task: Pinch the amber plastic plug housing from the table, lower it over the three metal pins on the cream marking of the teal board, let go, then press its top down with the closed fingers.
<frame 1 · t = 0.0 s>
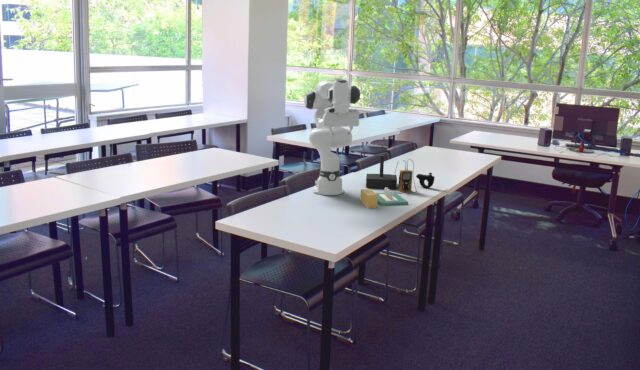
hand: (340, 134, 315), 39 cm above the table, tool pointing down, fingers open, 8 cm apart
controller: (424, 187, 363), on the table
multimeter: (407, 193, 349), on the table
black block with post: (381, 186, 366), on the table
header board: (388, 199, 332), on the table
plug housing: (368, 204, 323), on the table
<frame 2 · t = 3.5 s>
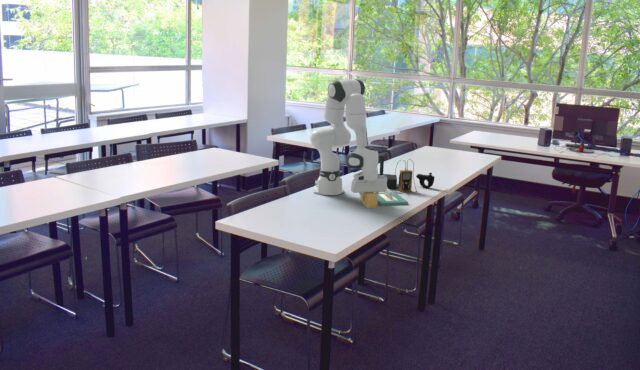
hand: (368, 199, 322), 3 cm above the table, tool pointing down, fingers closed on plug housing, 6 cm apart
plug housing: (368, 204, 323), on the table, touching gripper
everything else where it was.
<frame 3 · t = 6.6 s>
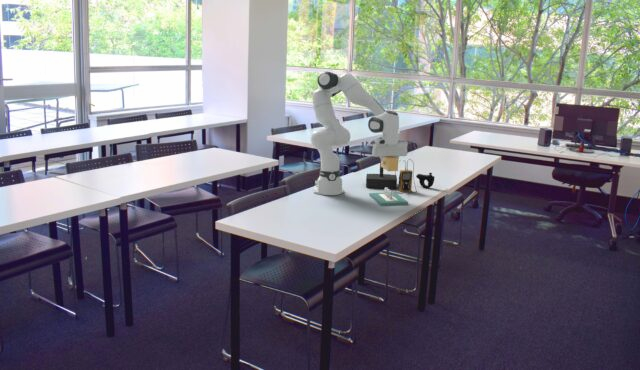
hand: (389, 164, 327), 21 cm above the table, tool pointing down, fingers closed on plug housing, 6 cm apart
plug housing: (389, 168, 327), point 19 cm above the table, touching gripper
everything else where it was.
when the fingers open (5 cm above the table, at t = 9.8 s): plug housing stays where it is, resting on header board.
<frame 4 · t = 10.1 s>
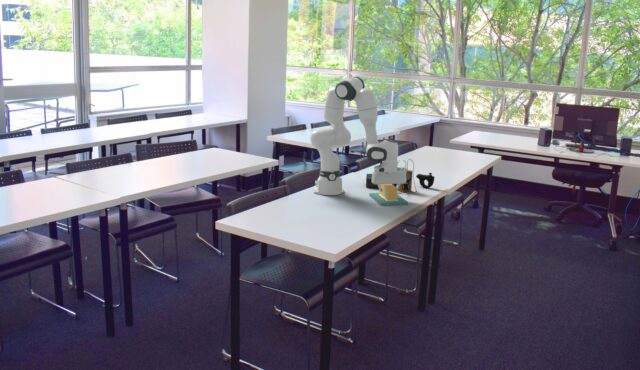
hand: (388, 191, 331), 5 cm above the table, tool pointing down, fingers open, 8 cm apart
plug housing: (388, 197, 332), point 2 cm above the table, touching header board
everything else where it was.
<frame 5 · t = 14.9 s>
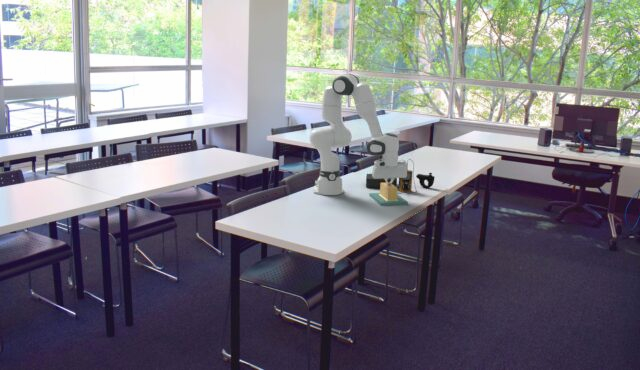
hand: (389, 185, 330), 9 cm above the table, tool pointing down, fingers closed, pressing on plug housing
plug housing: (388, 197, 332), point 2 cm above the table, touching gripper, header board
everything else where it was.
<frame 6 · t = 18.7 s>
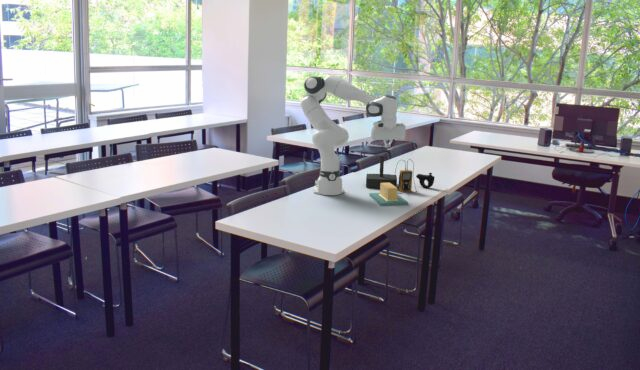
hand: (387, 147, 336), 29 cm above the table, tool pointing down, fingers closed
plug housing: (388, 197, 332), point 2 cm above the table, touching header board
everything else where it was.
at the end: plug housing 0.1 cm off-centre on the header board, point 1.7 cm above the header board's base; plug housing tilted 0°; the gripper is holding nothing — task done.
